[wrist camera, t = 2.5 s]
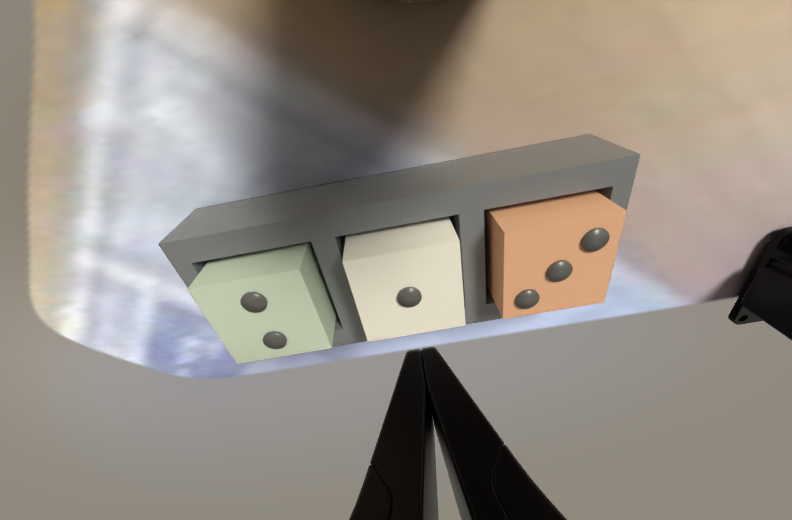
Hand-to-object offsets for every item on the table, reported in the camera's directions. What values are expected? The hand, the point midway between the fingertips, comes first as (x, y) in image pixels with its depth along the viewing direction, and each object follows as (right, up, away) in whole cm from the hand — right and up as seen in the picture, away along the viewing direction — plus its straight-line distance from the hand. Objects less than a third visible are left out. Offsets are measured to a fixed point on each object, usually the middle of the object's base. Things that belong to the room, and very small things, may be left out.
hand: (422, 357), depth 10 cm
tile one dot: (0, +3, +4) cm, 5 cm away
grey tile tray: (-1, +4, +6) cm, 7 cm away
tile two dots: (-6, +2, +5) cm, 8 cm away
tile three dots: (+5, +4, +4) cm, 8 cm away
